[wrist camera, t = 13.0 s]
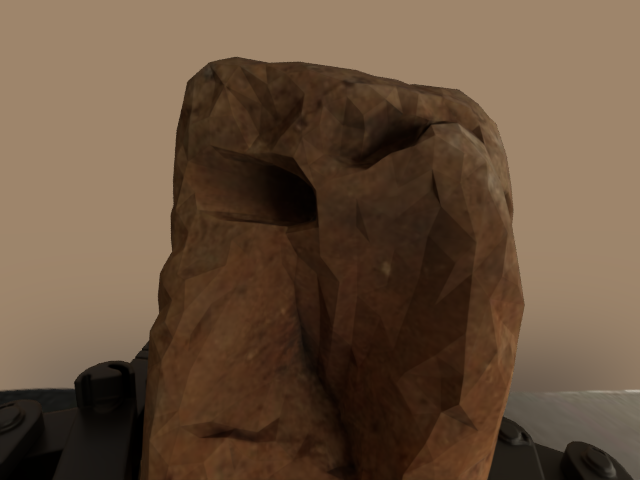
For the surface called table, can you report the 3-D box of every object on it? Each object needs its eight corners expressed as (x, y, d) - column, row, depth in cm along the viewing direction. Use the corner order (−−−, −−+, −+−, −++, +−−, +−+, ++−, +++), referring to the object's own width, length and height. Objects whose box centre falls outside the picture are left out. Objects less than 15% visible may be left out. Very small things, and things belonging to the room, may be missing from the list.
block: (229, 472, 19) (241, 96, 13) (358, 483, 19) (427, 118, 13) (115, 875, 9) (-73, -65, 3) (400, 893, 9) (803, 41, 3)
